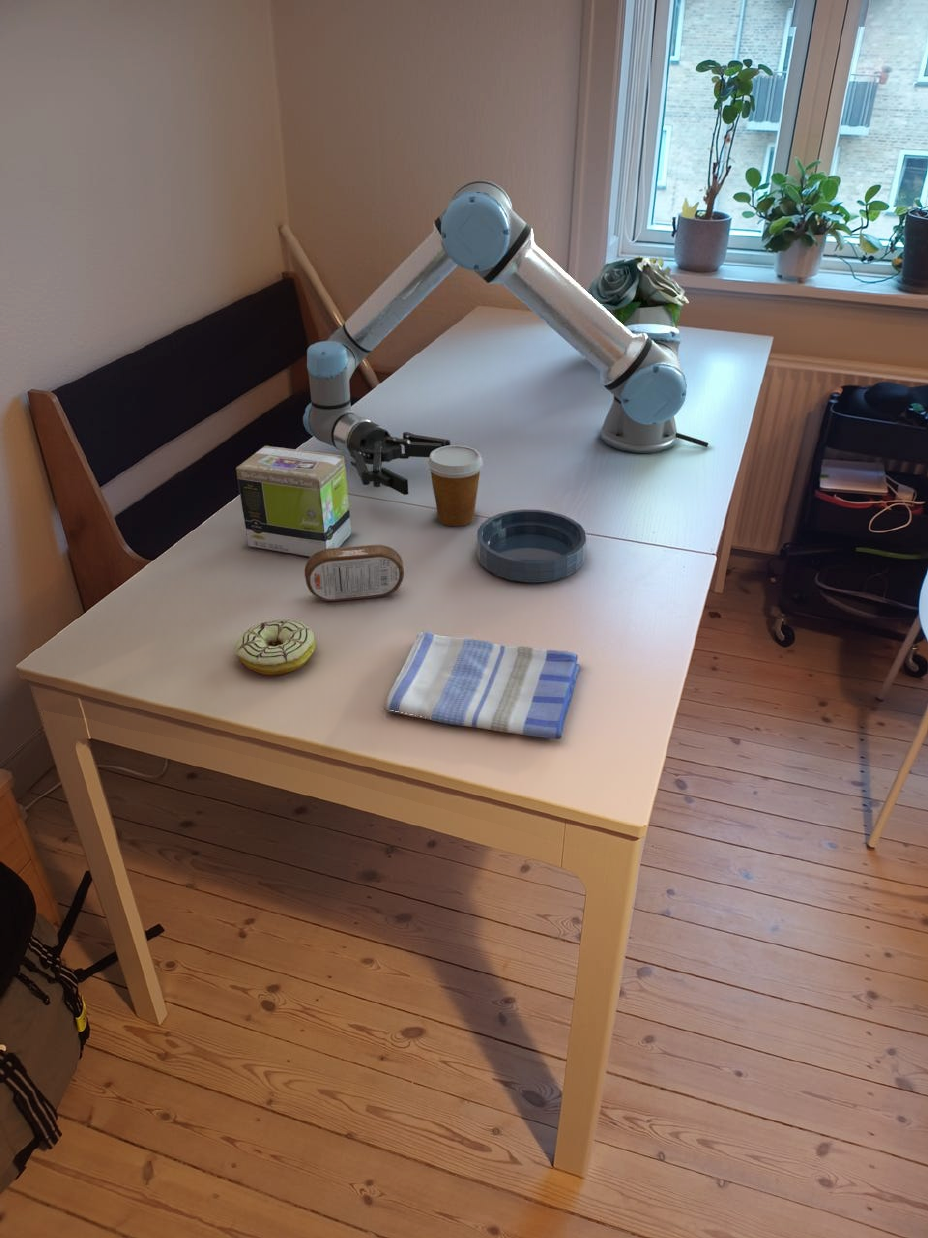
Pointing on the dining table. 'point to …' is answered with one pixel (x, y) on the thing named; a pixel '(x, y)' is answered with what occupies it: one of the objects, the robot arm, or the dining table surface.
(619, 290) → the flower arrangement
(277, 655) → the decorated donut
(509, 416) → the dining table surface
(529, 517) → the bowl
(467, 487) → the disposable coffee cup
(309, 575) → the tin
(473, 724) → the dish towel
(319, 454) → the tea box
